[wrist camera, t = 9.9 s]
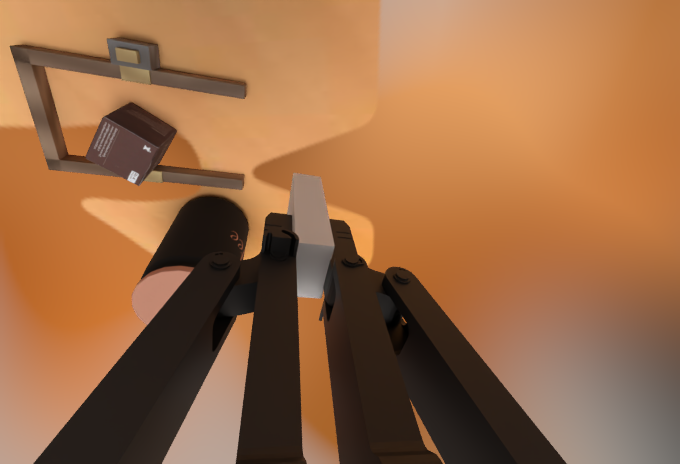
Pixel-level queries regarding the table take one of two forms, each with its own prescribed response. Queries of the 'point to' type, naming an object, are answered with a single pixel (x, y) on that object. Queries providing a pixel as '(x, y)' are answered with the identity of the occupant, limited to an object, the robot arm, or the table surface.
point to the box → (130, 143)
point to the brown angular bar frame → (125, 64)
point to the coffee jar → (189, 250)
